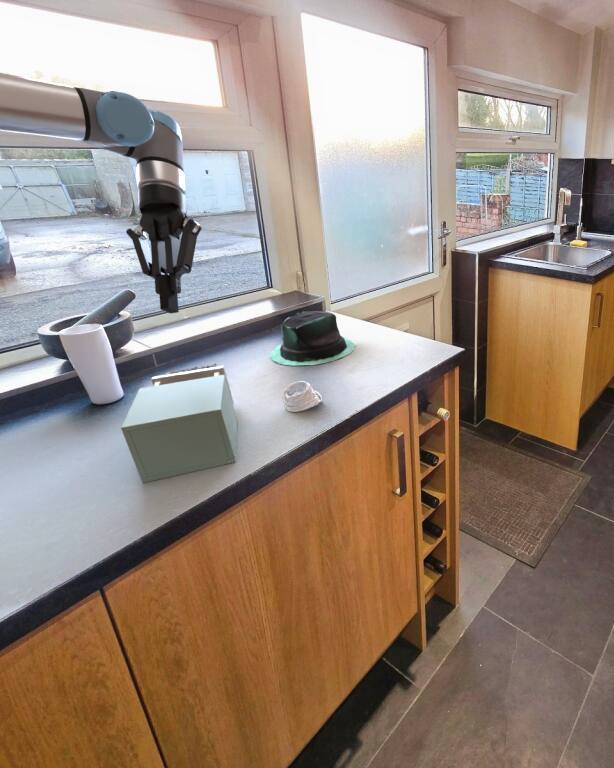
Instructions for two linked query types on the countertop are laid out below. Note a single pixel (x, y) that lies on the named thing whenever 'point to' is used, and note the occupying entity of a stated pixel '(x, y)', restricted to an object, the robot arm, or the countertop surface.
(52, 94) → the robot arm
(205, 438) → the cabinet
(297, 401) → the white ribbed cup
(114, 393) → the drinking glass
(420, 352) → the countertop surface
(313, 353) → the dark green hat
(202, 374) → the drawer
